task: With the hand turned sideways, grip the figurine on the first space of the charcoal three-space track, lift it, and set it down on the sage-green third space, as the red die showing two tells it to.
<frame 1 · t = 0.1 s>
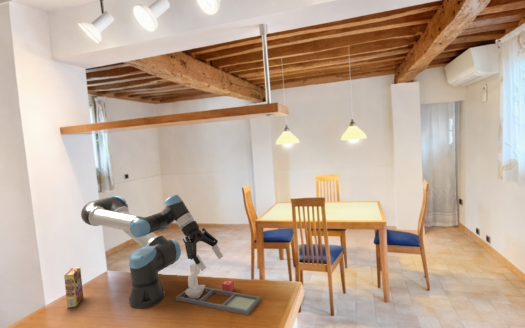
hand: (213, 263, 141), 15 cm above the table, tool tilted 35°, fingers open, 13 cm apart
figurine: (196, 296, 143), resting on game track
candy box: (76, 302, 146), on the table
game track: (217, 300, 138), on the table
red die: (228, 290, 146), on the table
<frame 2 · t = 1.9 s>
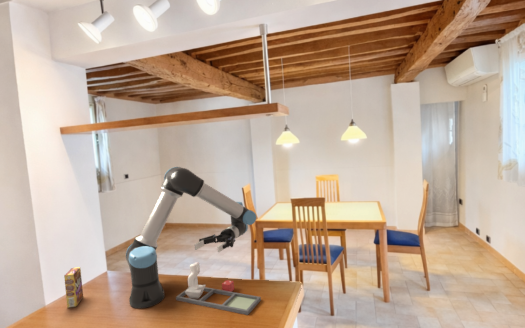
hand: (206, 248, 151), 19 cm above the table, tool horizontal, fingers open, 13 cm apart
nothing on the table moved.
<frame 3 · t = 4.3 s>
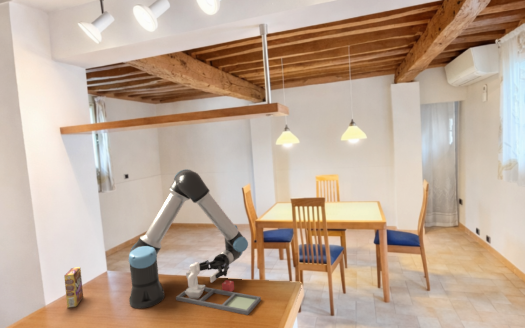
hand: (198, 277, 145), 8 cm above the table, tool horizontal, fingers open, 13 cm apart
nothing on the table moved.
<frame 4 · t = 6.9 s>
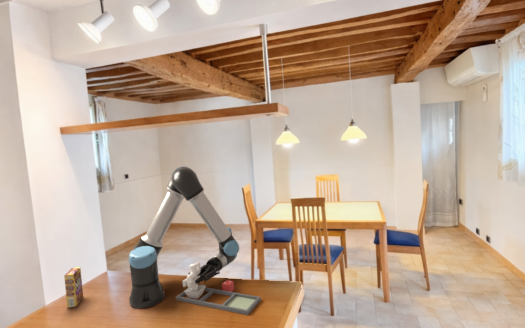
hand: (186, 284, 138), 8 cm above the table, tool horizontal, fingers closed on figurine, 3 cm apart
figurine: (195, 296, 144), resting on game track, touching gripper
everything else where it was.
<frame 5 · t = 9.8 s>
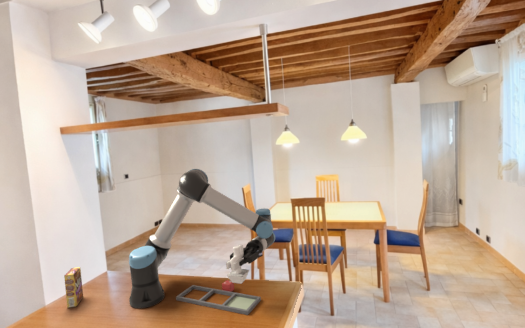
hand: (230, 266, 127), 19 cm above the table, tool horizontal, fingers closed on figurine, 3 cm apart
figurine: (239, 281, 133), point 10 cm above the table, touching gripper
everything else where it was.
when the fingers open (10 cm above the table, at t = 12.2 s): figurine stays where it is, resting on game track.
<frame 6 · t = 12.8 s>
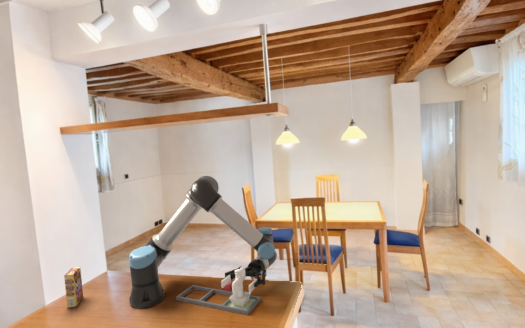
hand: (235, 286, 129), 10 cm above the table, tool horizontal, fingers open, 13 cm apart
figurine: (240, 304, 133), resting on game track
everything else where it was.
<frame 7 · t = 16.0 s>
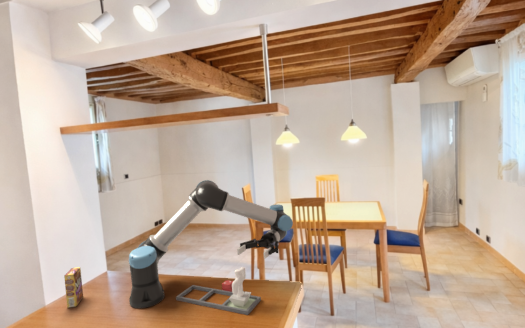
hand: (250, 253, 141), 18 cm above the table, tool horizontal, fingers open, 13 cm apart
nothing on the table moved.
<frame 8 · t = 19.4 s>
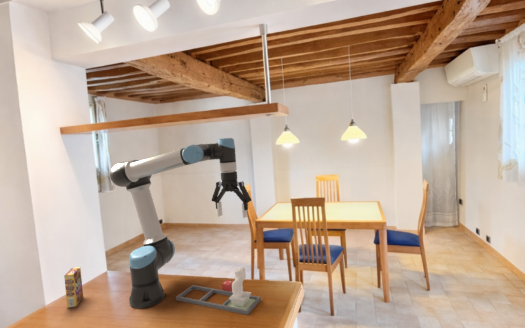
hand: (232, 216, 146), 35 cm above the table, tool pointing down, fingers open, 13 cm apart
nothing on the table moved.
at the end: figurine 0.2 cm from the target spot on the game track, point 0.2 cm above the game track's base; figurine tilted 0°; the gripper is holding nothing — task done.
